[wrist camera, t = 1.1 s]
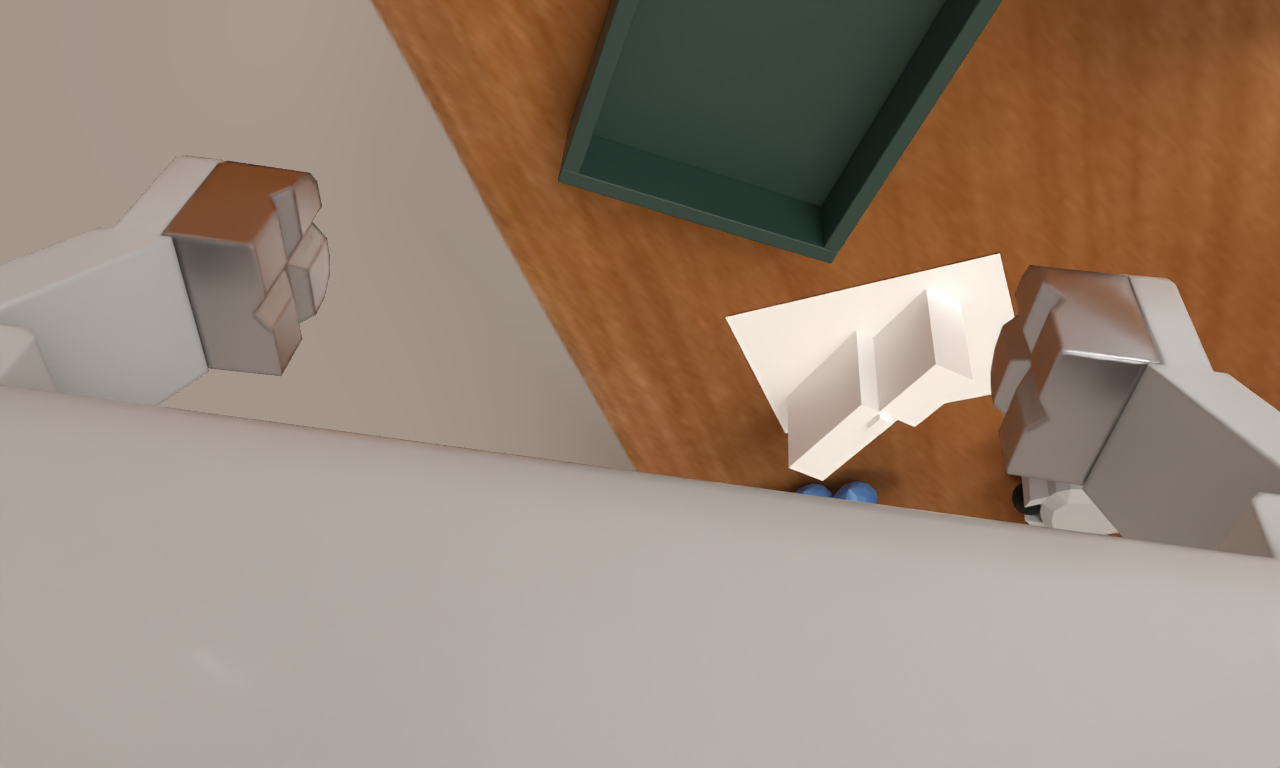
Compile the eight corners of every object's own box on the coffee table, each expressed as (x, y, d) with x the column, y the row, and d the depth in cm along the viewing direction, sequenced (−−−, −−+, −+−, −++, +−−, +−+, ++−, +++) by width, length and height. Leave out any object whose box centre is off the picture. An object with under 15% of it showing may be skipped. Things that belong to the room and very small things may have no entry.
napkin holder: (786, 435, 67) (787, 511, 63) (722, 318, 59) (719, 396, 55) (1033, 386, 61) (1050, 466, 58) (999, 250, 54) (1015, 332, 50)
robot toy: (1011, 514, 73) (1257, 506, 68) (1016, 571, 70) (1273, 568, 65) (1005, 404, 64) (1286, 387, 59) (1010, 465, 61) (1306, 452, 56)
